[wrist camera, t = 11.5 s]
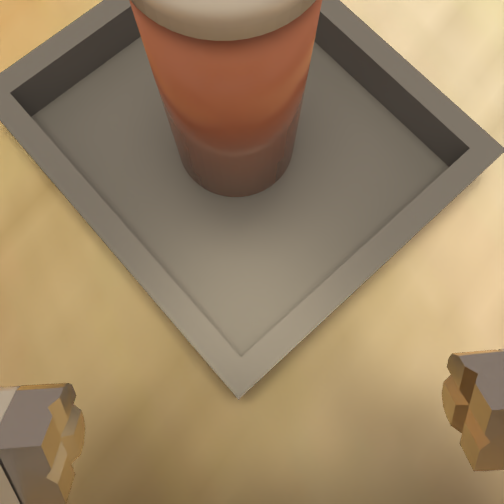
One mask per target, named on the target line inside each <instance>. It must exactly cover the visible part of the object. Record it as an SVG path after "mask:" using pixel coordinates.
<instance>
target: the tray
mask: <svg viewBox="0 0 504 504" xmlns="http://www.w3.org/2000/svg"><path fill="white" fill-rule="evenodd" d="M0 121H1V122H2V123H3V125H4V126H5V127H6V128H7V129H8V130H9V132H10V133H11V134H12V135H13V136H14V137H15V139H16V140H17V141H18V142H19V143H20V144H21V146H22V147H23V148H24V149H25V150H26V151H27V153H28V154H29V155H30V156H31V157H32V158H33V160H34V161H35V162H36V163H37V164H38V166H39V167H40V168H41V169H42V170H43V171H44V173H45V174H46V175H47V176H48V177H49V178H50V180H51V181H52V182H53V183H54V184H55V185H56V187H57V188H58V189H59V190H60V191H61V192H62V194H63V195H64V196H65V197H66V198H67V199H68V201H69V202H70V203H71V204H72V205H73V207H74V208H75V209H76V210H77V211H78V212H79V214H80V215H81V216H82V217H83V218H84V219H85V221H86V222H87V223H88V224H89V225H90V226H91V228H92V229H93V230H94V231H95V232H96V233H97V235H98V236H99V237H100V238H101V239H102V240H103V242H104V243H105V244H106V245H107V246H108V248H109V249H110V250H111V251H112V252H113V253H114V255H115V256H116V257H117V258H118V259H119V260H120V262H121V263H122V264H123V265H124V266H125V267H126V269H127V270H128V271H129V272H130V273H131V274H132V276H133V277H134V278H135V279H136V280H137V281H138V283H139V284H140V285H141V286H142V287H143V288H144V290H145V291H146V292H147V293H148V294H149V296H150V297H151V298H152V299H153V300H154V301H155V303H156V304H157V305H158V306H159V307H160V308H161V310H162V311H163V312H164V313H165V314H166V315H167V317H168V318H169V319H170V320H171V321H172V322H173V324H174V325H175V326H176V327H177V328H178V329H179V331H180V332H181V333H182V334H183V335H184V337H185V338H186V339H187V340H188V341H189V342H190V344H191V345H192V346H193V347H194V348H195V349H196V351H197V352H198V353H199V354H200V355H201V356H202V358H203V359H204V360H205V361H206V362H207V363H208V365H209V366H210V367H211V368H212V369H213V370H214V372H215V373H216V374H217V375H218V376H219V378H220V379H221V380H222V381H223V382H224V383H225V385H226V386H227V387H228V388H229V389H230V390H231V392H232V393H233V394H234V395H235V396H236V397H237V399H238V400H239V399H240V398H241V397H242V396H243V395H244V394H245V393H246V392H247V391H248V390H249V389H251V388H252V387H253V386H254V385H255V384H256V383H257V382H258V381H259V380H260V379H261V378H262V377H263V376H264V375H266V374H267V373H268V372H269V371H270V370H271V369H272V368H273V367H274V366H275V365H276V364H277V363H278V362H279V361H281V360H282V359H283V358H284V357H285V356H286V355H287V354H288V353H289V352H290V351H291V350H292V349H293V348H294V347H296V346H297V345H298V344H299V343H300V342H301V341H302V340H303V339H304V338H305V337H306V336H307V335H308V334H309V333H311V332H312V331H313V330H314V329H315V328H316V327H317V326H318V325H319V324H320V323H321V322H322V321H323V320H325V319H326V318H327V317H328V316H329V315H330V314H331V313H332V312H333V311H334V310H335V309H336V308H337V307H338V306H340V305H341V304H342V303H343V302H344V301H345V300H346V299H347V298H348V297H349V296H350V295H351V294H352V293H353V292H355V291H356V290H357V289H358V288H359V287H360V286H361V285H362V284H363V283H364V282H365V281H366V280H367V279H368V278H370V277H371V276H372V275H373V274H374V273H375V272H376V271H377V270H378V269H379V268H380V267H381V266H382V265H383V264H385V263H386V262H387V261H388V260H389V259H390V258H391V257H392V256H393V255H394V254H395V253H396V252H397V251H398V250H400V249H401V248H402V247H403V246H404V245H405V244H406V243H407V242H408V241H409V240H410V239H411V238H412V237H413V236H415V235H416V234H417V233H418V232H419V231H420V230H421V229H422V228H423V227H424V226H425V225H426V224H427V223H428V222H430V221H431V220H432V219H433V218H434V217H435V216H436V215H437V214H438V213H439V212H440V211H441V210H442V209H443V208H445V207H446V206H447V205H448V204H449V203H450V202H451V201H452V200H453V199H454V198H455V197H456V196H457V195H458V194H460V193H461V192H462V191H463V190H464V189H465V188H466V187H467V186H468V185H469V184H470V183H471V182H472V181H473V180H475V179H476V178H477V177H478V176H479V175H480V174H481V173H482V172H483V171H484V170H485V169H486V168H487V167H489V166H490V165H491V164H492V163H493V162H494V161H495V160H496V159H497V158H498V157H499V156H500V155H501V154H502V153H504V148H503V147H502V146H501V145H500V144H499V143H498V142H497V141H496V140H495V139H493V138H492V137H491V136H490V135H489V134H488V133H487V132H486V131H485V130H483V129H482V128H481V127H480V126H479V125H478V124H477V123H476V122H474V121H473V120H472V119H471V118H470V117H469V116H468V115H467V114H466V113H464V112H463V111H462V110H461V109H460V108H459V107H458V106H457V105H456V104H454V103H453V102H452V101H451V100H450V99H449V98H448V97H447V96H446V95H444V94H443V93H442V92H441V91H440V90H439V89H438V88H437V87H435V86H434V85H433V84H432V83H431V82H430V81H429V80H428V79H427V78H425V77H424V76H423V75H422V74H421V73H420V72H419V71H418V70H417V69H415V68H414V67H413V66H412V65H411V64H410V63H409V62H408V61H407V60H405V59H404V58H403V57H402V56H401V55H400V54H399V53H398V52H396V51H395V50H394V49H393V48H392V47H391V46H390V45H389V44H388V43H386V42H385V41H384V40H383V39H382V38H381V37H380V36H379V35H378V34H376V33H375V32H374V31H373V30H372V29H371V28H370V27H369V26H368V25H366V24H365V23H364V22H363V21H362V20H361V19H360V18H359V17H357V16H356V15H355V14H354V13H353V12H352V11H351V10H350V9H349V8H347V7H346V6H345V5H344V4H343V3H342V2H341V1H340V0H322V4H321V9H320V14H319V20H318V25H317V30H316V35H315V40H314V45H313V51H312V56H311V61H310V66H309V71H308V76H307V82H306V87H305V92H304V97H303V102H302V107H301V113H300V118H299V123H298V128H297V133H296V138H295V144H294V149H293V154H292V158H291V161H290V163H289V166H288V167H287V169H286V171H285V172H284V174H283V175H282V176H281V178H280V179H279V180H278V181H277V182H275V183H274V184H273V185H272V186H270V187H269V188H267V189H265V190H264V191H262V192H259V193H257V194H253V195H250V196H244V197H227V196H222V195H218V194H215V193H212V192H210V191H208V190H206V189H204V188H203V187H201V186H200V185H198V184H197V183H196V182H195V181H194V180H193V179H192V178H191V177H190V176H189V174H188V173H187V171H186V170H185V168H184V166H183V164H182V161H181V159H180V156H179V152H178V149H177V146H176V143H175V140H174V137H173V134H172V131H171V128H170V125H169V122H168V119H167V115H166V112H165V109H164V106H163V103H162V100H161V97H160V94H159V91H158V88H157V85H156V82H155V78H154V75H153V72H152V69H151V66H150V63H149V60H148V57H147V54H146V51H145V48H144V45H143V42H142V38H141V35H140V32H139V29H138V26H137V23H136V20H135V17H134V14H133V11H132V8H131V5H130V1H129V0H103V1H102V2H100V3H99V4H97V5H96V6H95V7H93V8H92V9H90V10H89V11H88V12H86V13H85V14H83V15H82V16H81V17H79V18H78V19H76V20H75V21H73V22H72V23H71V24H69V25H68V26H66V27H65V28H64V29H62V30H61V31H59V32H58V33H56V34H55V35H54V36H52V37H51V38H49V39H48V40H47V41H45V42H44V43H42V44H41V45H39V46H38V47H37V48H35V49H34V50H32V51H31V52H30V53H28V54H27V55H25V56H24V57H22V58H21V59H20V60H18V61H17V62H15V63H14V64H13V65H11V66H10V67H8V68H7V69H5V70H4V71H3V72H1V73H0Z"/></svg>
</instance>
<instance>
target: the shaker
mask: <svg viewBox="0 0 504 504" xmlns="http://www.w3.org/2000/svg"><path fill="white" fill-rule="evenodd" d="M129 1H130V5H131V8H132V11H133V14H134V17H135V20H136V23H137V26H138V29H139V32H140V35H141V38H142V42H143V45H144V48H145V51H146V54H147V57H148V60H149V63H150V66H151V69H152V72H153V75H154V78H155V82H156V85H157V88H158V91H159V94H160V97H161V100H162V103H163V106H164V109H165V112H166V115H167V119H168V122H169V125H170V128H171V131H172V134H173V137H174V140H175V143H176V146H177V149H178V152H179V156H180V159H181V161H182V164H183V166H184V168H185V170H186V171H187V173H188V174H189V176H190V177H191V178H192V179H193V180H194V181H195V182H196V183H197V184H198V185H200V186H201V187H203V188H204V189H206V190H208V191H210V192H212V193H215V194H218V195H222V196H227V197H244V196H250V195H253V194H257V193H259V192H262V191H264V190H265V189H267V188H269V187H270V186H272V185H273V184H274V183H275V182H277V181H278V180H279V179H280V178H281V176H282V175H283V174H284V172H285V171H286V169H287V167H288V166H289V163H290V161H291V158H292V154H293V149H294V144H295V138H296V133H297V128H298V123H299V118H300V113H301V107H302V102H303V97H304V92H305V87H306V82H307V76H308V71H309V66H310V61H311V56H312V51H313V45H314V40H315V35H316V30H317V25H318V20H319V14H320V9H321V4H322V0H129Z"/></svg>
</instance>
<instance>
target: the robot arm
mask: <svg viewBox="0 0 504 504" xmlns="http://www.w3.org/2000/svg"><path fill="white" fill-rule="evenodd" d="M447 368H448V370H449V372H450V374H451V375H450V376H449V377H448V378H447V379H446V380H445V381H444V383H443V389H442V400H443V407H444V410H445V414H446V416H447V419H448V421H449V423H450V425H451V426H452V427H454V428H455V429H456V430H458V431H459V432H461V433H462V436H461V440H460V445H461V447H462V449H463V451H464V453H465V455H466V457H467V459H468V461H469V463H470V465H471V467H472V469H473V471H490V470H504V349H499V350H485V351H474V352H462V353H452V354H451V356H450V357H449V359H448V364H447ZM75 398H76V393H75V391H74V388H73V386H72V384H69V383H61V384H42V385H23V386H14V387H0V504H67V500H68V497H69V493H70V490H71V487H72V483H73V480H74V476H75V472H74V470H73V467H72V463H73V462H74V461H75V460H76V459H77V458H78V457H79V456H80V455H81V452H82V448H83V445H84V437H85V423H84V417H83V414H82V411H81V410H80V409H79V408H78V407H76V406H75V405H73V404H74V401H75Z"/></svg>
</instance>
